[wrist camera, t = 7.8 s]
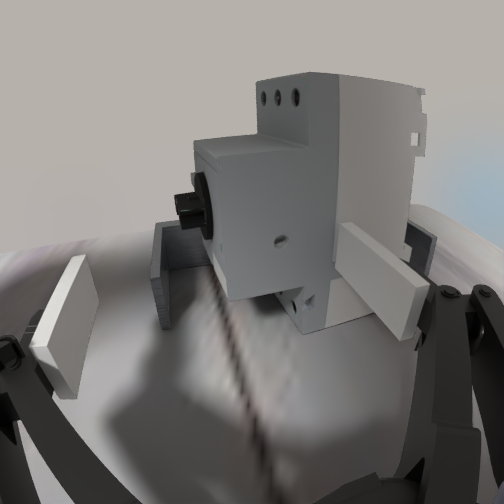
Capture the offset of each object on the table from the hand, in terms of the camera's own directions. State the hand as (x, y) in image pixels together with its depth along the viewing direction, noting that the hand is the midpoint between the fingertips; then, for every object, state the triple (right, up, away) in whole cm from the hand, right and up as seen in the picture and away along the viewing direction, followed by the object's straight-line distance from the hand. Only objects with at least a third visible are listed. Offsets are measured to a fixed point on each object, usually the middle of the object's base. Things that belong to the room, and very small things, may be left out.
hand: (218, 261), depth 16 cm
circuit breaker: (+5, -3, +7) cm, 9 cm away
